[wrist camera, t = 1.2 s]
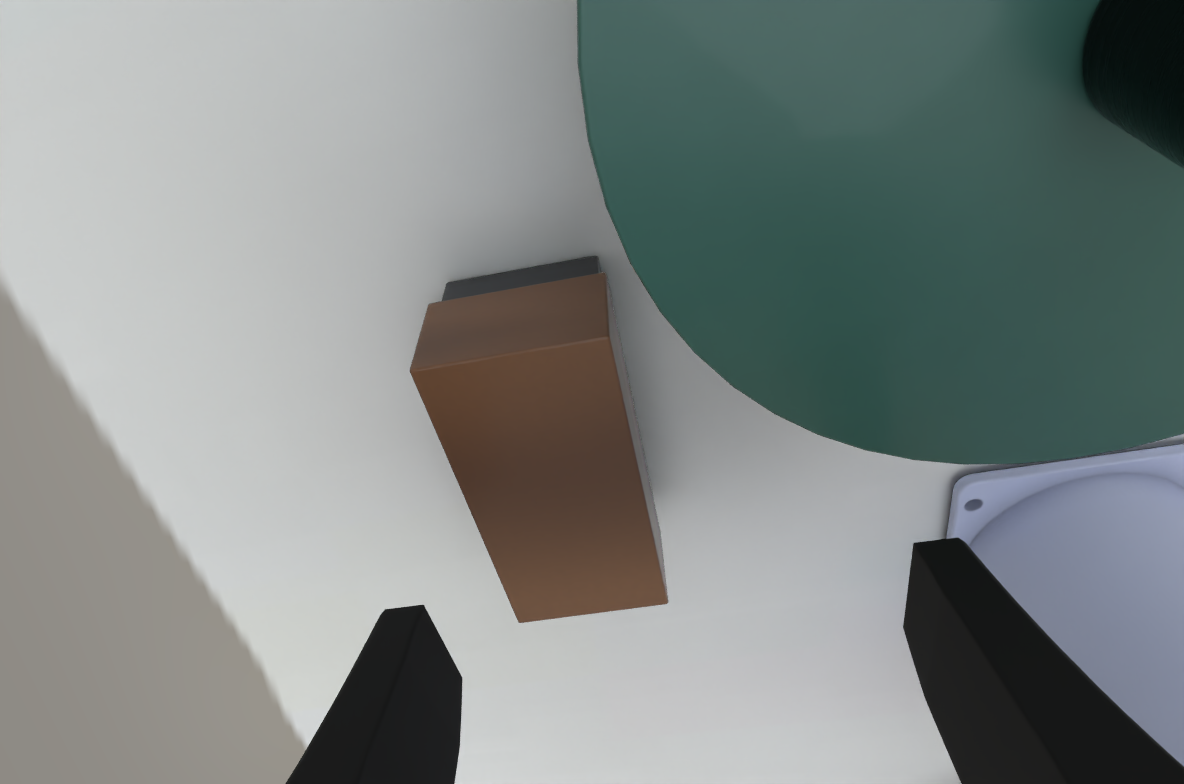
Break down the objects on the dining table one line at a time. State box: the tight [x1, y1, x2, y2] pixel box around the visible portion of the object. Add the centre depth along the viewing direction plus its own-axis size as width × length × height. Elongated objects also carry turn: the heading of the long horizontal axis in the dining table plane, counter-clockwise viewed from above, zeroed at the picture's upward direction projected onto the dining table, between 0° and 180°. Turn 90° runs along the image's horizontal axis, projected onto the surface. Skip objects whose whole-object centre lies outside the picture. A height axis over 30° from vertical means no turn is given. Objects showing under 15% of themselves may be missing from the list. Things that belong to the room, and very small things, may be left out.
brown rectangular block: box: [410, 256, 668, 623], centre depth 20 cm, size 9×4×4 cm, turn 11°
